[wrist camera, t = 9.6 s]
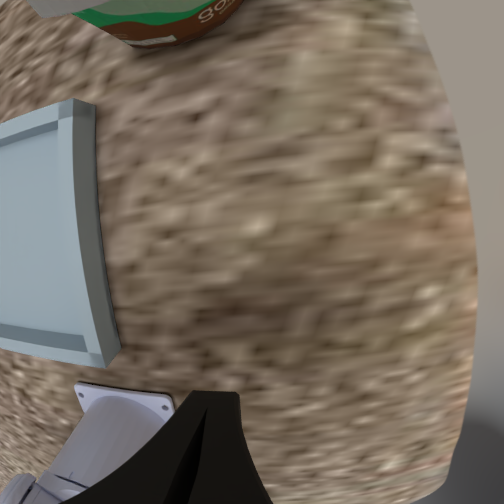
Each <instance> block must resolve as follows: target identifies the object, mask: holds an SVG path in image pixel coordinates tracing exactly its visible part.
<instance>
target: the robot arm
mask: <svg viewBox="0 0 504 504" xmlns="http://www.w3.org/2000/svg"><path fill="white" fill-rule="evenodd" d="M74 389H75V391H76V394H77V397H78V399H79V402H80V404H81V406H82V409H83V411H84V416H83V417H82V419H81V420H80V421H79V423H78V424H77V426H76V427H75V429H74V430H73V432H72V433H71V435H70V436H69V438H68V439H67V441H66V443H65V444H64V446H63V447H62V449H61V450H60V452H59V453H58V455H57V456H56V458H55V459H54V461H53V462H52V464H51V466H50V467H49V469H48V470H44V472H43V473H42V475H41V476H40V478H39V480H38V481H37V483H35V481H36V478H35V477H34V476H33V475H32V474H30V473H26V474H17V475H16V476H15V477H14V478H13V479H12V480H11V481H10V482H9V483H8V485H7V486H6V487H5V489H4V490H3V491H2V493H1V494H0V504H273V502H272V501H271V499H270V497H269V495H268V493H267V491H266V490H265V488H264V486H263V484H262V482H261V479H260V477H259V475H258V473H257V471H256V468H255V466H254V463H253V461H252V458H251V456H250V453H249V450H248V447H247V444H246V440H245V437H244V434H243V430H242V423H241V410H240V397H239V394H237V393H236V392H221V391H196V390H193V391H192V392H191V393H190V394H189V395H188V396H187V398H186V399H185V400H184V401H183V403H182V404H181V405H180V406H179V408H178V409H177V410H176V411H174V406H173V402H172V399H171V398H170V397H169V396H168V395H165V394H155V393H146V392H137V391H129V390H122V389H115V388H108V387H102V386H96V385H91V384H85V383H80V382H77V383H76V384H75V385H74ZM164 405H165V406H167V407H165V406H164Z"/></svg>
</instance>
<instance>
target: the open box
mask: <svg viewBox="0 0 504 504" xmlns="http://www.w3.org/2000/svg"><path fill="white" fill-rule="evenodd" d="M95 118H96V106H95V105H92V104H89V103H86V102H83V101H81V100H78V99H75V98H72V99H68V100H65V101H62V102H59V103H55V104H52V105H49V106H46V107H43V108H40V109H38V110H35V111H32V112H29V113H27V114H24V115H21V116H19V117H16V118H14V119H11V120H9V121H6V122H4V123H1V124H0V348H2V349H6V350H10V351H14V352H19V353H23V354H27V355H32V356H36V357H41V358H46V359H51V360H56V361H62V362H67V363H73V364H79V365H85V366H92V367H99V368H107V366H108V365H109V364H110V363H111V361H112V360H113V359H114V357H115V356H116V355H117V353H118V352H119V351H120V349H121V345H120V341H119V336H118V332H117V327H116V322H115V318H114V313H113V308H112V302H111V297H110V291H109V286H108V280H107V273H106V267H105V260H104V253H103V245H102V237H101V228H100V218H99V206H98V193H97V176H96V146H95Z"/></svg>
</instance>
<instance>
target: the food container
mask: <svg viewBox="0 0 504 504" xmlns="http://www.w3.org/2000/svg"><path fill="white" fill-rule="evenodd" d="M26 1H27V2H28V3H29V4H30V5H31V6H32V7H33V9H34V10H35V11H36V12H37V13H38V14H39V15H40V16H41V17H42V18H47V17H56V16H61V15H65V14H70V13H71V14H73V15H75V16H77V17H79V18H81V19H83V20H85V21H87V22H89V23H91V24H93V25H95V26H96V27H98V28H100V29H102V30H104V31H106V32H107V33H109V34H111V35H113V36H115V37H116V38H118V39H120V40H122V41H123V42H125V43H127V44H128V45H130V46H132V47H137V48H147V49H152V48H160V47H167V46H176V45H179V44H181V43H184V42H187V41H190V40H193V39H195V38H198V37H201V36H203V35H205V34H206V33H208V32H209V31H211V30H213V29H214V28H216V27H218V26H219V25H221V24H223V23H224V22H225V21H226V20H227V19H228V18H229V17H230V16H231V15H232V14H233V13H234V12H235V11H236V10H237V9H238V8H239V6H240V5H241V3H242V2H243V0H26Z"/></svg>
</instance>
